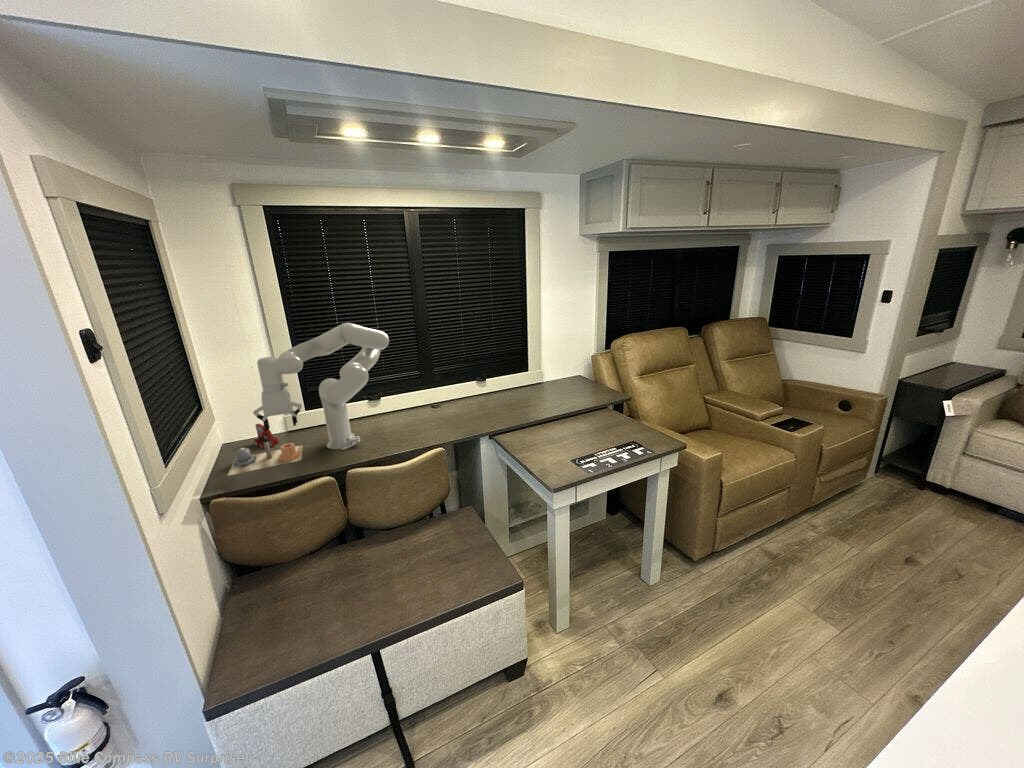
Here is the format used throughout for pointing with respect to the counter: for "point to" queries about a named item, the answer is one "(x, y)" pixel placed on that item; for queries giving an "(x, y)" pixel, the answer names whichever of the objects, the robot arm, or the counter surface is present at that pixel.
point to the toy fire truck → (264, 437)
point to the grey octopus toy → (244, 458)
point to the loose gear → (288, 452)
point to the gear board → (264, 460)
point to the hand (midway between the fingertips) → (281, 426)
